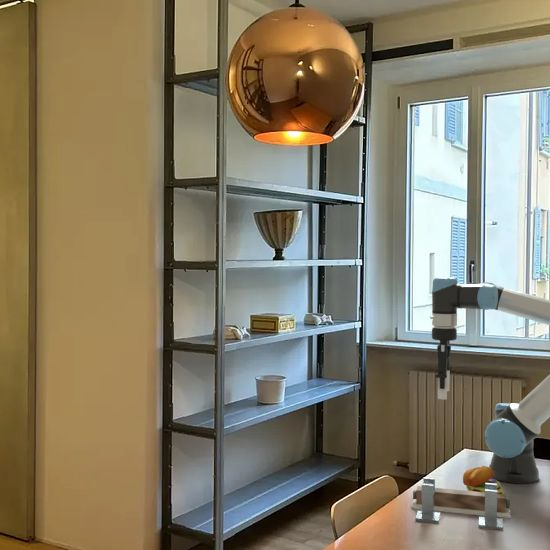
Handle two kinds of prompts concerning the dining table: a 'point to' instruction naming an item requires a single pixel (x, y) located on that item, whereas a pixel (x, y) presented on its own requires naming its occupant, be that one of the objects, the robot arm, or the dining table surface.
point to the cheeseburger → (480, 479)
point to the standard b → (490, 509)
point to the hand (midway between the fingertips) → (443, 395)
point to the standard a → (428, 502)
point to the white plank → (462, 510)
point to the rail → (462, 499)
